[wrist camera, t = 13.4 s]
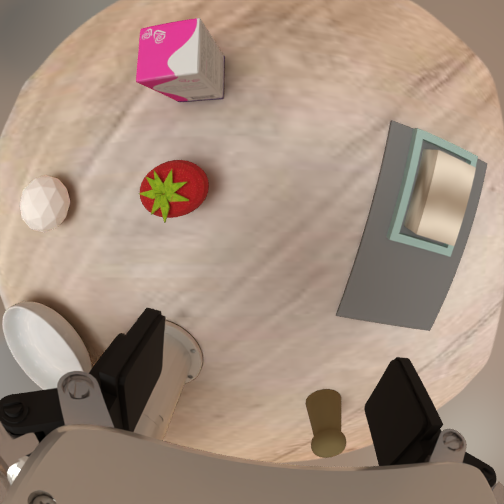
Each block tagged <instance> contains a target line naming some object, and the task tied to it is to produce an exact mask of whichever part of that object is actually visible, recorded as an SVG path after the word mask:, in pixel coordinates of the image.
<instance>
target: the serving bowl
mask: <svg viewBox="0 0 504 504" xmlns="http://www.w3.org/2000/svg"><path fill="white" fill-rule="evenodd" d="M3 331H4V335H5V339H6V341H7V344H8V346H9V348H10V351H11V352H12V354H13V356H14V358H15V359H16V361H17V362H18V364H19V365H20V367H21V368H22V369H23V370H24V372H25V373H26V374H27V375H28V376H29V377H30V378H31V379H32V380H33V381H34V382H35V383H36V384H37V385H38V386H40V387H41V388H42V389H43V390H47V389H53V388H57V383H58V381H59V379H60V378H61V377H62V376H63V375H64V374H66V373H68V372H72V371H82V372H87V373H89V372H90V370H91V369H92V366H91V361H90V357H89V354H88V351H87V349H86V347H85V345H84V343H83V341H82V340H81V338H80V336H79V335H78V334H77V332H76V331H75V330H74V328H73V327H72V326H71V325H70V324H69V323H68V322H67V321H66V320H65V319H64V318H63V317H62V316H61V315H60V314H58V313H57V312H56V311H54V310H53V309H51V308H49V307H47V306H45V305H43V304H40V303H37V302H30V301H27V302H20V303H17V304H15V305H13V306H11V307H9V308H8V309H7V310H6V311H5V313H4V316H3Z"/></svg>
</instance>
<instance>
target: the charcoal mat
mask: <svg viewBox="0 0 504 504" xmlns="http://www.w3.org/2000/svg"><path fill="white" fill-rule="evenodd" d="M412 133H413V128H410V127H408V126H405V125H403V124H400V123H398V122H395V121H391V123H390V128H389V133H388V138H387V142H386V147H385V152H384V156H383V161H382V165H381V169H380V173H379V177H378V182H377V186H376V189H375V193H374V197H373V201H372V205H371V208H370V212H369V216H368V219H367V223H366V226H365V229H364V233H363V236H362V239H361V243H360V246H359V249H358V252H357V256H356V259H355V262H354V265H353V268H352V271H351V274H350V277H349V280H348V283H347V286H346V289H345V291H344V294H343V297H342V300H341V303H340V305H339V308H338V311H337V313H336V316H340V317H346V318H351V319H357V320H363V321H369V322H375V323H381V324H387V325H394V326H400V327H407V328H414V329H421V330H428V331H430V330H431V328H432V326H433V323H434V321H435V319H436V317H437V315H438V313H439V311H440V309H441V306H442V304H443V302H444V300H445V298H446V295H447V293H448V291H449V288H450V286H451V283H452V281H453V278H454V276H455V273H456V271H457V268H458V266H459V263H460V260H461V257H462V255H463V252H464V249H465V246H466V243H467V240H468V237H469V234H470V231H471V227H472V224H473V221H474V217H475V214H476V210H477V206H478V203H479V199H480V195H481V191H482V186H483V182H484V177H485V173H486V168H487V163H485V162H483V161H481V160H480V159H478V158H477V163H476V170H475V175H474V179H473V184H472V188H471V192H470V196H469V199H468V203H467V207H466V210H465V214H464V217H463V221H462V224H461V227H460V230H459V234H458V237H457V240H456V243H455V246H454V248H453V251H452V254H451V257H449V256H446V255H443V254H439V253H436V252H432V251H429V250H425V249H422V248H418V247H415V246H411V245H407V244H404V243H400V242H396V241H393V240H389V239H388V238H387V237H386V236H387V233H388V230H389V227H390V223H391V220H392V216H393V213H394V209H395V206H396V202H397V199H398V195H399V191H400V187H401V183H402V179H403V175H404V171H405V166H406V162H407V158H408V153H409V148H410V144H411V139H412ZM423 149H430V150H440V151H442V152H444V153H446V154H449V155H451V156H453V157H455V158H457V159H459V160H461V161H463V162H465V163H466V160H465V159H463V158H461V157H458V156H456V155H454V154H452V153H450V152H448V151H446V150H443V149H441V148H439V147H437V146H434V145H432V144H430V143H427V142H425V141H422V146H421V151H420V156H419V161H418V165H417V169H416V174H415V178H414V182H413V186H412V190H411V194H410V197H409V201H408V205H407V208H406V212H405V215H404V219H403V222H402V225H401V229H400V233H404V234H407V235H411V236H414V237H418V238H421V239H424V240H428V241H431V242H434V243H437V244H441V245H444V243H443V242H439V241H436V240H433V239H430V238H427V237H424V236H420V235H417V234H415V233H414V232H412V231H411V230H409V229H408V228H406V227H405V226H404V222H405V219H406V216H407V212H408V209H409V205H410V202H411V198H412V194H413V191H414V187H415V183H416V179H417V175H418V171H419V166H420V162H421V158H422V153H423Z"/></svg>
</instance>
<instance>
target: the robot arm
mask: <svg viewBox="0 0 504 504" xmlns="http://www.w3.org/2000/svg"><path fill="white" fill-rule="evenodd" d="M202 362H203V358H202V353H201V350H200V347H199V346H198V344H197V342H196V341H195V340H194V338H193V337H192V336H191V335H190V334H189V333H188V332H186V331H185V330H184V329H182V328H181V327H179V326H178V325H175V324H173V323H171V322H168V321H165V316H162V315H161V311H158V310H154V309H151V308H146V309H145V310H144V312H143V313H142V314H141V316H140V317H139V318H138V320H137V321H136V322H135V324H134V325H133V326H132V327H131V329H130V330H129V331H128V333H127V334H126V335H125V334H122V333H120V334H119V335H118V336H117V337H116V338H115V339H114V340H113V342H112V343H111V344H110V346H109V347H108V348H107V349H106V351H105V352H104V353H103V355H102V356H101V357H100V359H99V360H98V361H97V363H96V364H95V365H94V366H93V368H92V369H91V370H90V372H89V373H87V372H82V371H72V372H68V373H66V374H64V375H63V376H62V377H61V378H60V379H59V381H58V383H57V388H53V389H47V390H40V391H34V392H27V393H19V394H12V395H8V396H6V397H4V398H2V399H1V400H0V504H504V486H503V485H502V484H501V483H500V482H498V483H497V484H496V474H495V471H494V469H493V468H492V467H490V466H489V465H487V464H486V463H484V462H482V461H481V460H479V459H477V458H475V457H474V456H472V455H470V454H468V453H467V452H465V451H466V441H465V439H464V437H463V436H462V435H461V434H460V433H459V432H458V431H456V430H453V429H445V430H443V431H442V432H441V430H440V428H441V427H442V425H443V423H442V421H441V419H440V417H439V415H438V413H437V411H436V409H435V406H434V404H433V403H432V401H431V399H430V397H429V395H428V393H427V391H426V389H425V387H424V385H423V383H422V381H421V379H420V377H419V376H418V374H417V372H416V370H415V368H414V366H413V365H412V363H411V361H410V359H408V358H400V357H397V358H395V359H394V360H392V361H391V362H390V363H389V365H388V367H387V369H386V371H385V372H384V374H383V376H382V378H381V379H380V381H379V383H378V384H377V386H376V388H375V389H374V391H373V393H372V394H371V396H370V398H369V399H368V401H367V402H366V404H365V414H366V417H367V421H368V425H369V428H370V432H371V436H372V440H373V444H374V447H375V451H376V456H377V460H378V464H379V466H373V467H321V466H304V465H290V464H281V463H272V462H264V461H256V460H250V459H243V458H237V457H231V456H226V455H221V454H216V453H211V452H207V451H202V450H198V449H194V448H189V447H185V446H181V445H177V444H173V443H170V442H166V441H163V439H164V437H165V434H166V431H167V429H168V426H169V423H170V421H171V418H172V415H173V413H174V410H175V407H176V405H177V402H178V399H179V397H180V394H181V391H182V389H183V386H184V384H186V383H189V382H190V381H192V380H194V379H195V378H196V377H197V376H198V374H199V372H200V370H201V367H202Z"/></svg>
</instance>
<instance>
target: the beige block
mask: <svg viewBox="0 0 504 504" xmlns="http://www.w3.org/2000/svg"><path fill="white" fill-rule="evenodd" d="M475 170H476V168H475V167H473V166H471V165H469V164H467V163H465V162H463V161H461V160H459V159H457V158H455V157H453V156H451V155H449V154H446V153H444V152H442V151H440V150H430V149H423V153H422V158H421V162H420V166H419V171H418V175H417V179H416V183H415V187H414V191H413V194H412V198H411V202H410V205H409V209H408V212H407V216H406V219H405V222H404V226H405V227H406V228H408V229H409V230H411V231H412V232H414V233H415V234H417V235H420V236H424V237H427V238H430V239H433V240H436V241H439V242H443V243H446V244H449V245H452V246H455V243H456V240H457V237H458V234H459V230H460V227H461V224H462V221H463V217H464V214H465V210H466V207H467V203H468V199H469V196H470V192H471V188H472V184H473V179H474V175H475Z"/></svg>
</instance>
